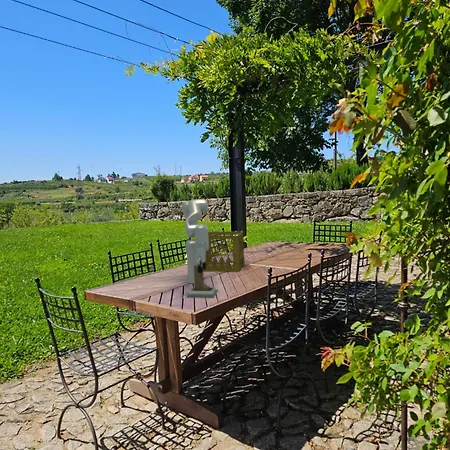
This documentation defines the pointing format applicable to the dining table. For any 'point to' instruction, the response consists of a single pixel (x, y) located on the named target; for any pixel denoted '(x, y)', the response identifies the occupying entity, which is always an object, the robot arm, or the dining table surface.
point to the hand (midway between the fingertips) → (201, 271)
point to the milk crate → (237, 252)
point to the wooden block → (199, 281)
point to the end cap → (202, 293)
